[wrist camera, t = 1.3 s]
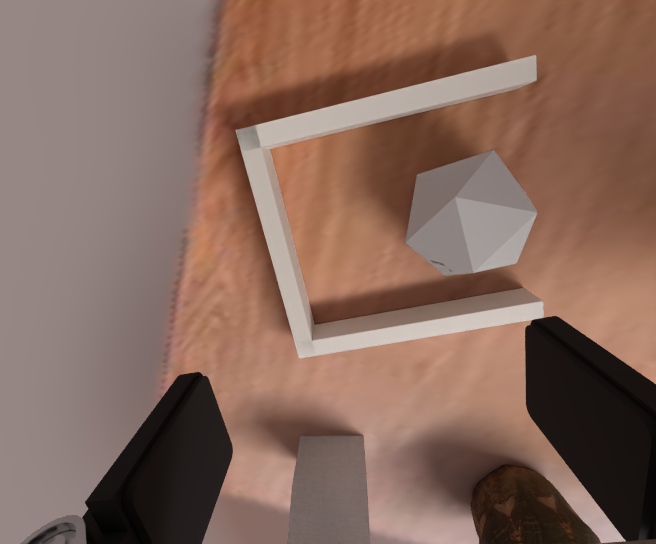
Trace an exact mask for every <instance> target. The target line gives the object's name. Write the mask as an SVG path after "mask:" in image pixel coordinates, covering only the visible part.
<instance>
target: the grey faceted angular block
mask: <svg viewBox="0 0 656 544" xmlns="http://www.w3.org/2000/svg"><path fill="white" fill-rule="evenodd" d="M289 519H290V520H289V531H288V540H287V544H370V531H369V514H368V496H367V480H366V465H365V450H364V436H363V435H355V436H300V441H299V448H298V454H297V460H296V466H295V472H294V478H293V484H292V494H291V506H290V518H289Z"/></svg>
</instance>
